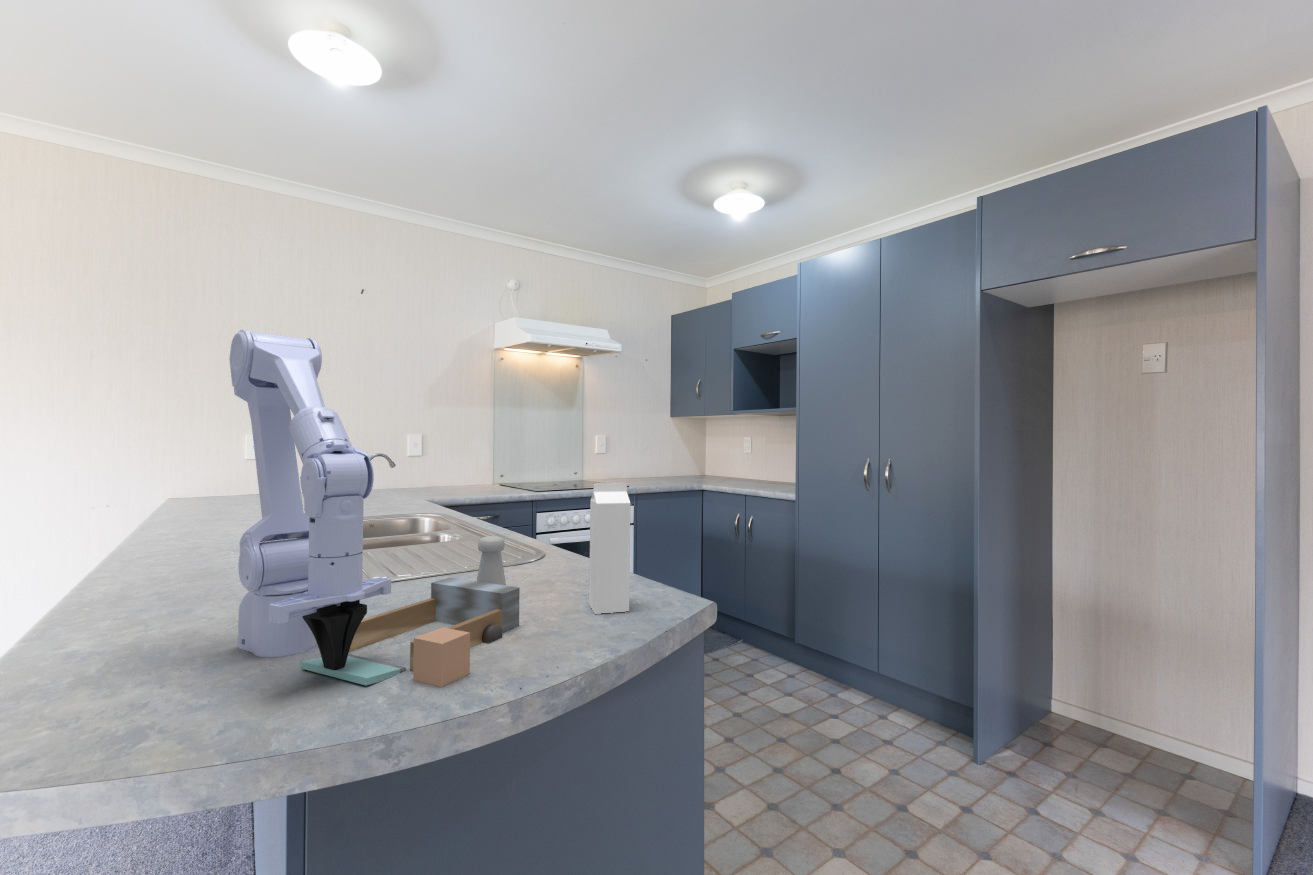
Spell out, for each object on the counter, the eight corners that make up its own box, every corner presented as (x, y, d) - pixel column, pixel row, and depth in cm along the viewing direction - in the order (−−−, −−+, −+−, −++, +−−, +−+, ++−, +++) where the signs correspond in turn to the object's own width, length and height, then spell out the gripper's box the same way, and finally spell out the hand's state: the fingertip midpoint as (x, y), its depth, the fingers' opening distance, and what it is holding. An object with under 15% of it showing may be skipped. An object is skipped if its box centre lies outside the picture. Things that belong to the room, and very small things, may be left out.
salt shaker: (498, 620, 96) (499, 540, 96) (465, 618, 97) (466, 538, 97) (513, 610, 102) (514, 534, 102) (483, 608, 103) (484, 533, 103)
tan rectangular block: (413, 688, 70) (413, 637, 70) (441, 675, 74) (442, 627, 74) (441, 696, 68) (442, 643, 68) (469, 681, 72) (470, 632, 72)
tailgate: (342, 659, 77) (300, 668, 72) (343, 651, 78) (301, 660, 72) (405, 674, 73) (365, 686, 68) (406, 666, 73) (367, 677, 68)
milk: (629, 612, 102) (631, 484, 102) (594, 615, 100) (596, 484, 100) (621, 602, 108) (623, 481, 108) (588, 605, 106) (590, 481, 106)
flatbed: (331, 658, 79) (332, 607, 79) (443, 618, 97) (444, 576, 97) (423, 680, 72) (423, 624, 72) (525, 633, 90) (525, 588, 90)
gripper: (299, 568, 63) (297, 697, 63) (409, 546, 76) (407, 652, 76) (257, 561, 66) (255, 684, 65) (370, 542, 79) (368, 644, 79)
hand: (334, 667), depth 71 cm, fingers closed
